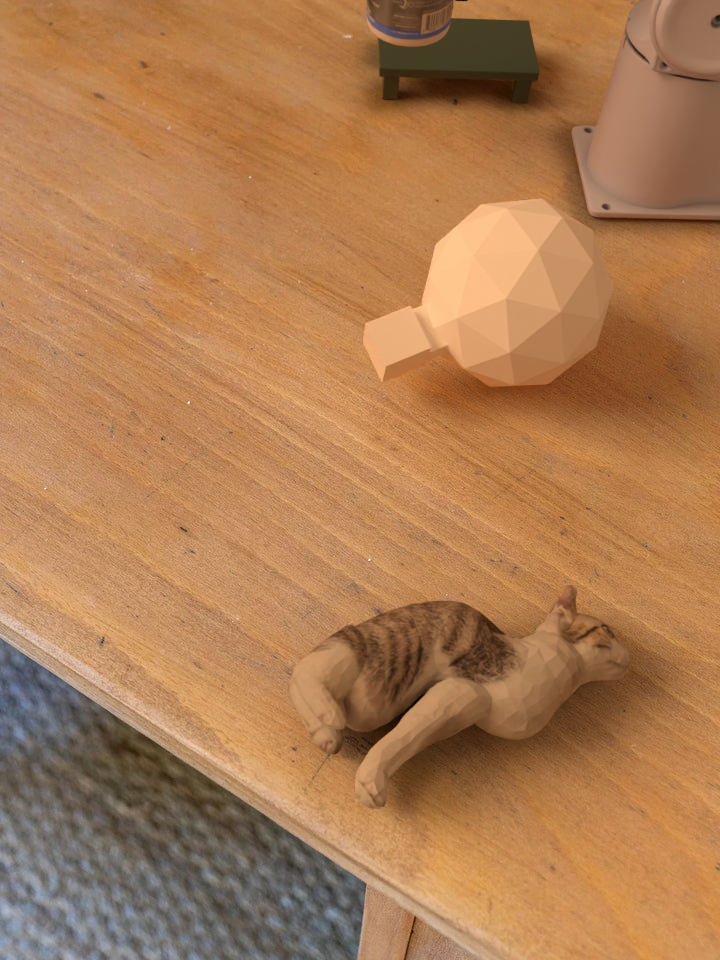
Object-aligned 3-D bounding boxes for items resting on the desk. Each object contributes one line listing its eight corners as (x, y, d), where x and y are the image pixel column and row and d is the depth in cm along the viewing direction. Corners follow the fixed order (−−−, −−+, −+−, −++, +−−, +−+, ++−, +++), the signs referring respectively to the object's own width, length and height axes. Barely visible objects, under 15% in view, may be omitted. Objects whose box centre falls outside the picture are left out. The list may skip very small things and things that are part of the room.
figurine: (582, 1084, 28) (874, 782, 34) (273, 659, 34) (567, 462, 39) (542, 1078, 32) (811, 807, 37) (270, 697, 37) (539, 512, 43)
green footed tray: (522, 52, 63) (529, 20, 61) (532, 105, 60) (540, 73, 58) (375, 48, 63) (377, 15, 61) (377, 101, 60) (379, 68, 58)
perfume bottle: (536, 233, 51) (334, 312, 49) (584, 132, 42) (340, 224, 40) (609, 372, 49) (403, 459, 47) (676, 298, 40) (425, 401, 38)
